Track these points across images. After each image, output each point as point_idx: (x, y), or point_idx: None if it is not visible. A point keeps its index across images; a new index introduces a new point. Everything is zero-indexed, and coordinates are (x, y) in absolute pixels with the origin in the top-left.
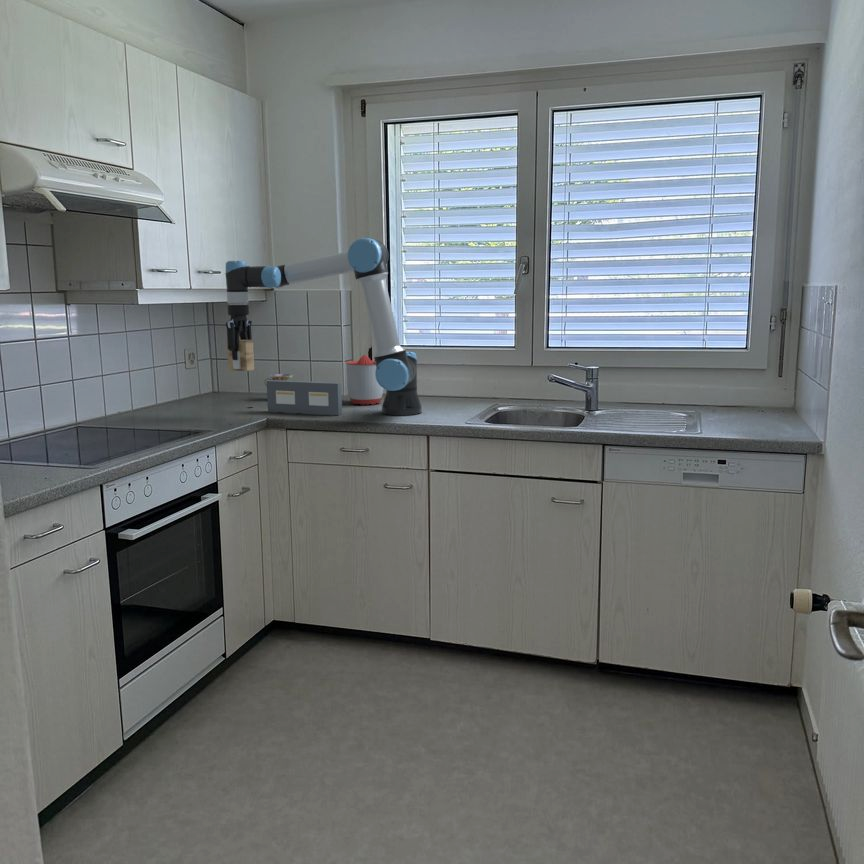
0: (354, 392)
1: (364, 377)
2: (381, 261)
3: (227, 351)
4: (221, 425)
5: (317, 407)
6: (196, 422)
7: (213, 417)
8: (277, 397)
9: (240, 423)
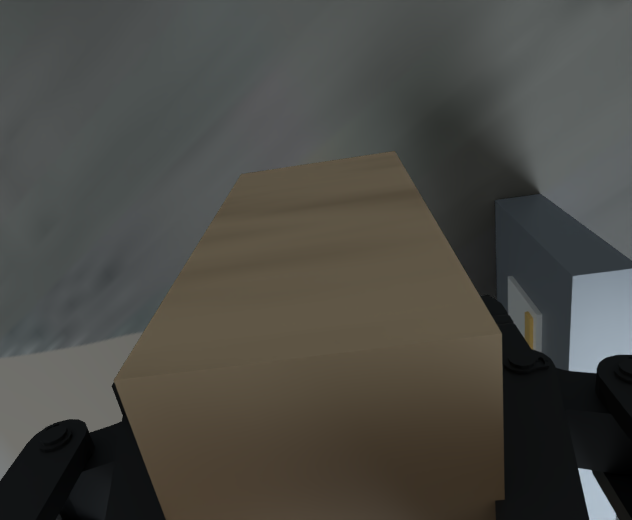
0: None
1: None
2: None
3: (190, 265)
4: (64, 255)
5: None
6: (37, 70)
7: (207, 32)
8: (519, 302)
9: (153, 296)
